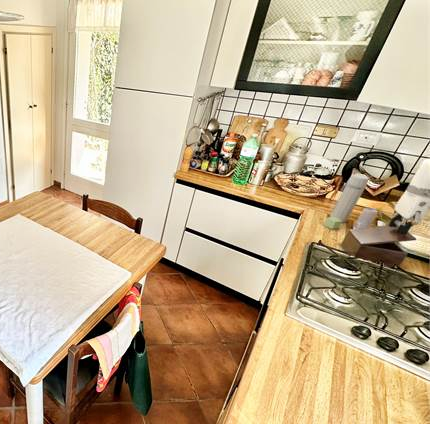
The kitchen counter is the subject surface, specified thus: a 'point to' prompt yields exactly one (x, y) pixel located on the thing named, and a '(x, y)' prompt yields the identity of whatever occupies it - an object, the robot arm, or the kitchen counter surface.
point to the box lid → (380, 234)
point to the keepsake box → (374, 251)
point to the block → (332, 222)
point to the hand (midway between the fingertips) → (397, 229)
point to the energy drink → (366, 218)
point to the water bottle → (349, 197)
